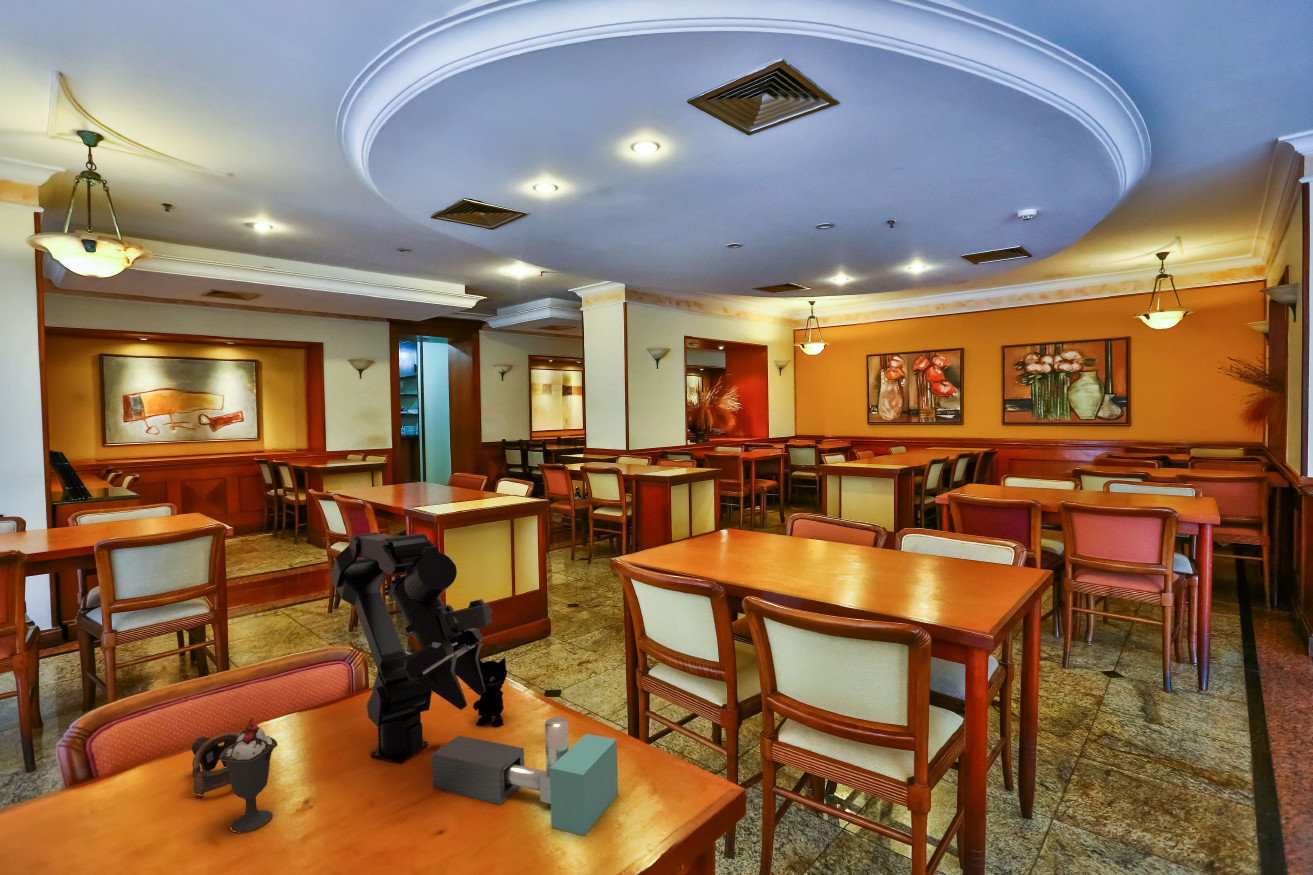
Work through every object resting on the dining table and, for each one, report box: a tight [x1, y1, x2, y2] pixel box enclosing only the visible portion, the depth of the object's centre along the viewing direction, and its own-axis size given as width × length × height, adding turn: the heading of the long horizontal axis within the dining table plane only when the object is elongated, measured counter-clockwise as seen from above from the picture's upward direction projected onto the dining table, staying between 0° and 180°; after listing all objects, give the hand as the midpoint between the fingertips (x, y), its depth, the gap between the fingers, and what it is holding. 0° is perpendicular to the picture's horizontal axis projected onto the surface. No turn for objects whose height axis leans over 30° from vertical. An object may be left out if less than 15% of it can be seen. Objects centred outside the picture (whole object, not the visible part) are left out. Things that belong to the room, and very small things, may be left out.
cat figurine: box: [467, 657, 508, 728], centre depth 116 cm, size 7×7×12 cm
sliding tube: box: [504, 716, 570, 805], centre depth 92 cm, size 19×4×11 cm, turn 68°
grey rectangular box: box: [431, 735, 525, 806], centre depth 95 cm, size 12×6×5 cm, turn 68°
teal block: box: [550, 733, 619, 837], centre depth 89 cm, size 5×10×8 cm, turn 158°
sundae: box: [219, 716, 278, 834], centre depth 88 cm, size 7×7×15 cm
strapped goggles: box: [190, 731, 241, 796], centre depth 98 cm, size 12×10×8 cm
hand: (473, 700), depth 96 cm, fingers open, 9 cm apart
